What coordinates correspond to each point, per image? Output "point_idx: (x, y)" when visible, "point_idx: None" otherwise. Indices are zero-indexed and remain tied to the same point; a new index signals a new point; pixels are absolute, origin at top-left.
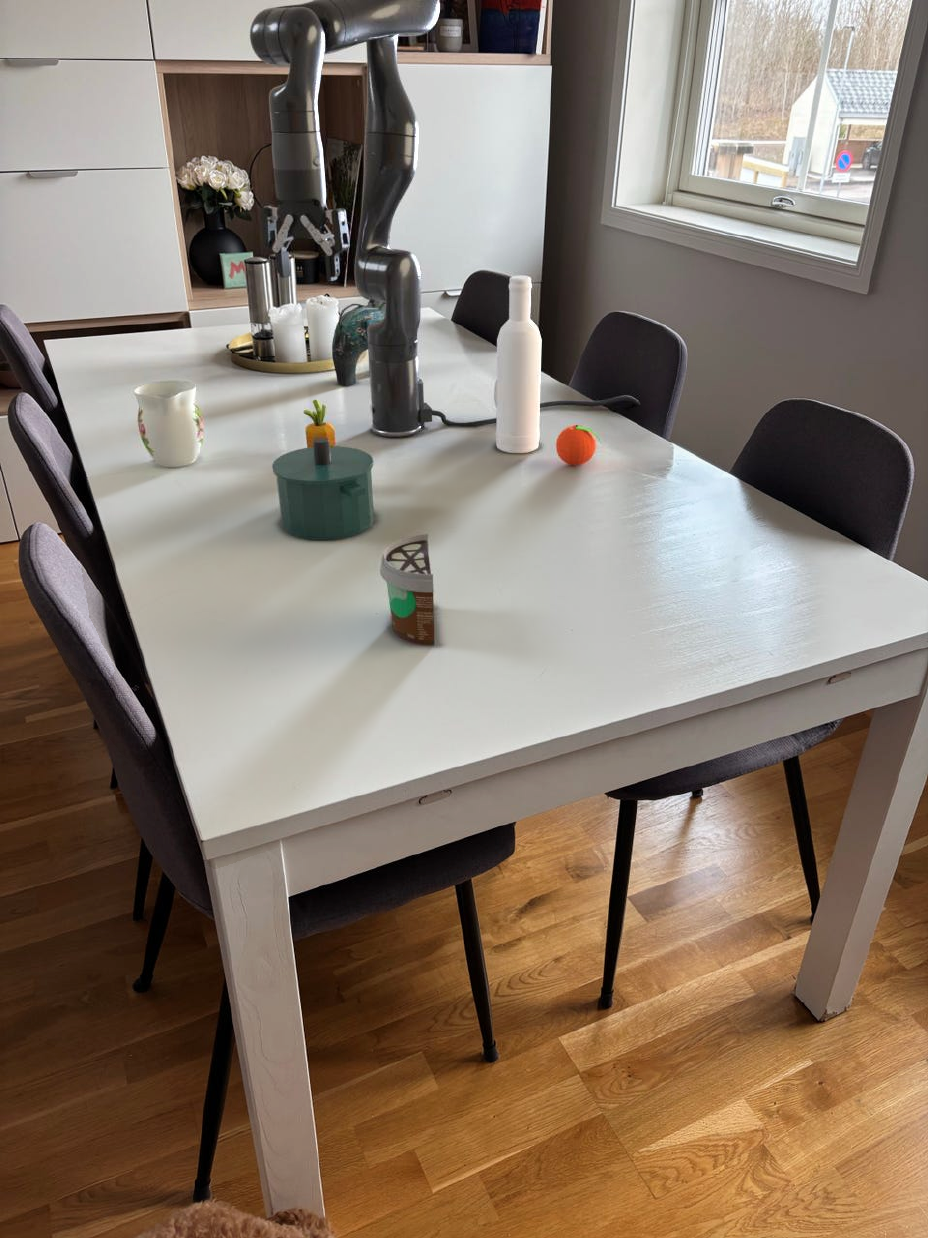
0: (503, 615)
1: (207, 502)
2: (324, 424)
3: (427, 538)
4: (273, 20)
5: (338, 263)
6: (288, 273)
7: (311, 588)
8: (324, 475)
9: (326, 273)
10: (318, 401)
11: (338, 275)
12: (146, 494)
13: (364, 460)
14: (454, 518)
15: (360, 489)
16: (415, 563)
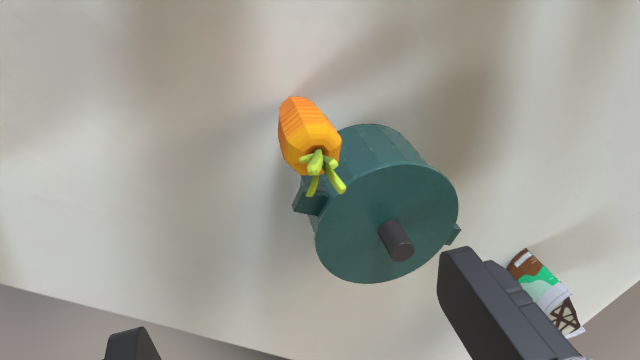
0: (582, 226)
1: (167, 221)
2: (325, 150)
3: (568, 291)
4: None
5: (541, 317)
6: (147, 350)
7: (420, 278)
8: (414, 255)
9: (455, 329)
10: (316, 163)
11: (491, 264)
12: (59, 250)
13: (441, 193)
14: (506, 86)
15: (456, 234)
16: (565, 319)
